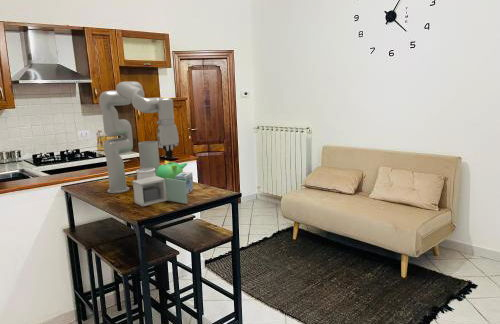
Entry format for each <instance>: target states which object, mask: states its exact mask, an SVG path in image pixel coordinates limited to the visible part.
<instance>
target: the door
mask: <svg viewBox="0 0 500 324" xmlns="http://www.w3.org/2000/svg"><path fill="white" fill-rule="evenodd" d="M186 188H187V185H186V181H183V180H176V179H169V178H166V195H167V201H169V202H176V203H180V204H186V205H187V204H188V194H187V189H186Z"/></svg>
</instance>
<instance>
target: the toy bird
mask: <svg viewBox="0 0 500 324" xmlns="http://www.w3.org/2000/svg"><path fill="white" fill-rule="evenodd" d="M187 165H188V162H183V163H181V164H179V163H177V162H174V161H169V160H164V162H163V163H162V164H160V166H159V168H158V169H157V172H156V176H158V177H161V178H164V179H165V184H166V178H169V179H176V178H175V176H177V175H178V174H180V173H181V172H184V170H183V169H184V168H185V167H186V166H187Z"/></svg>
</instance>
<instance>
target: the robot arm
mask: <svg viewBox="0 0 500 324" xmlns="http://www.w3.org/2000/svg"><path fill="white" fill-rule="evenodd" d="M143 88H144V87H143V85H142V84H141V82H139V81H133V80H132V81H120V82H119V83H118V84H117V85H116V87H115V90H114V89H113V90H107V91H103V92H101V93H100V95H99V97H98V103H99V108H100V110H101V113H102V123H103V131H104V134H105V136H106V137H110V138H109V139H107V140H105V141H104V142H103V144H102V150H103V153H104V155H105V160H106V167H107V168H106V169H107V175H108V184H109V188H108V189H107V191H106V192H107V193H108V194H121V193H125V192H128V191H130V186H127V181H126V179H127V178H126V173H125V172H126V171H125V163H124V162H125V161H124V159H123V157H122V156H121V155H122V154H126V153H130V152H132V150H133V148H134V139H133V129H132V125H131V123H130V121H129V120H127V119H122V118H121V119H119V113H118V110H117V109H116V108H115V106H128V105H130V104H131V105H132V106H133V108H134V109H135V110H137V111H139V112H141V113H144V114H151V113H158V120H156V124H157V125H158V126H157V142H158V149H159V148H160V149H163V150H164V151H165V157H166V159H172V158H173V150H174V148H175V147H177V146H179V142H180V137H179V131H178V127H177V125H176V124H175V113H174V100H173V98H171V97H145V91H144V89H143ZM119 136H120V137H119ZM111 137H114V138H111Z"/></svg>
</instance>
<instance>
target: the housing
mask: <svg viewBox="0 0 500 324" xmlns="http://www.w3.org/2000/svg"><path fill="white" fill-rule="evenodd" d="M132 189H133V192H132V193H133V201H134V203H135V204H137V205H139V206H140V207H146V206H150V205H155V204H158V203H163V202H166V201H168V200H167V190H166V184H165V179H164V178H161V177H158V176H155V177H150V178H145V179H139V180H137V179H136V180H132Z"/></svg>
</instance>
